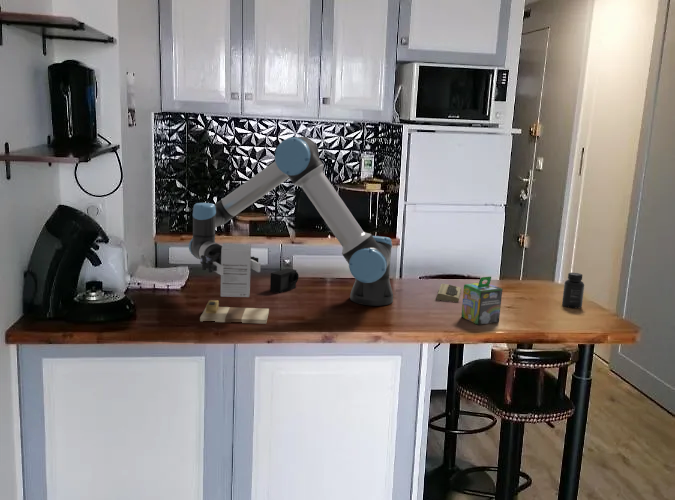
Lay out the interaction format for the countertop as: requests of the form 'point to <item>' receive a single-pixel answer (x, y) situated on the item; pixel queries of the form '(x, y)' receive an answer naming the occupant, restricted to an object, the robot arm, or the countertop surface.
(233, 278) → the supplement box
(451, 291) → the tan flat block
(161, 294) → the countertop surface
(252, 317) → the plywood board
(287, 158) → the robot arm
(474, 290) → the chalk box
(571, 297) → the supplement bottle
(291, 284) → the digital camera
